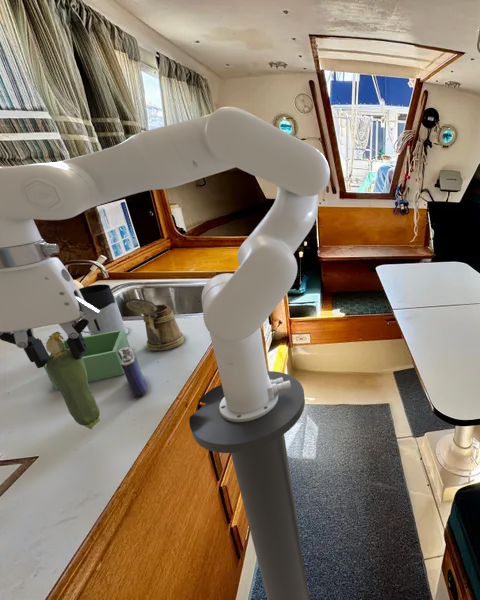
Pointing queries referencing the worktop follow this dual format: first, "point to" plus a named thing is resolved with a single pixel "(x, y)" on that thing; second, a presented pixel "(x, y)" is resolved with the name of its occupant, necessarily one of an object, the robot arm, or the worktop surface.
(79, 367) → the vegetable
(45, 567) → the worktop surface
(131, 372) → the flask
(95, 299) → the travel mug
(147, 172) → the robot arm
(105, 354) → the veg bin
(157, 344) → the wooden mug
